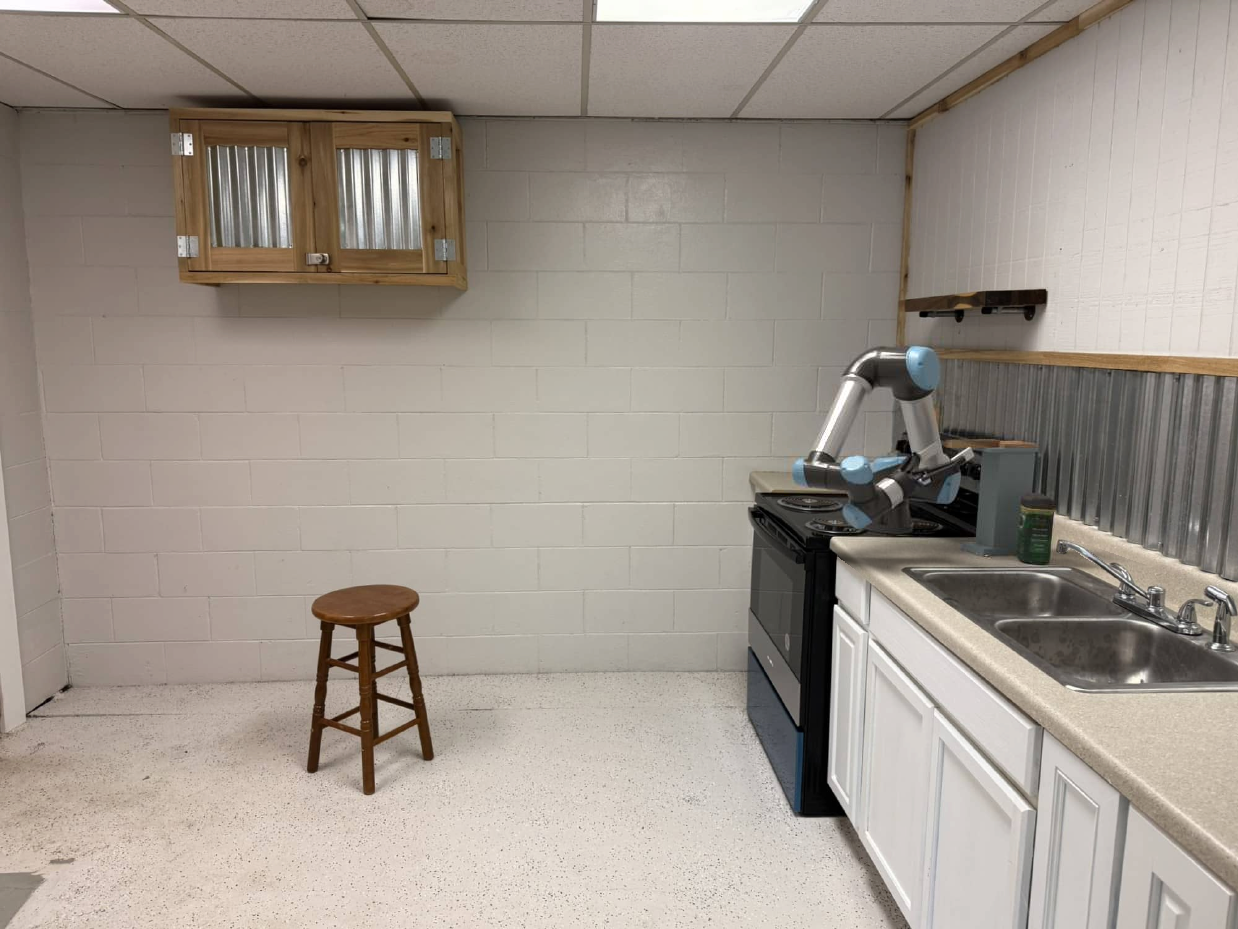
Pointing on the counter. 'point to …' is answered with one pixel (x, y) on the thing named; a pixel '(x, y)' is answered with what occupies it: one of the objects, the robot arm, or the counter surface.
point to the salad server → (988, 444)
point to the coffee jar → (1035, 528)
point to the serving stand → (1001, 499)
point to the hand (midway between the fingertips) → (954, 448)
